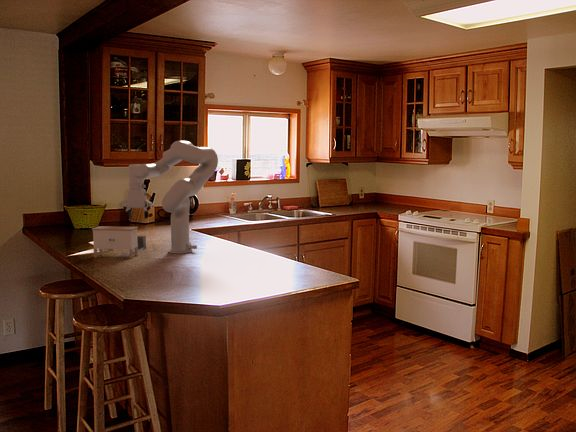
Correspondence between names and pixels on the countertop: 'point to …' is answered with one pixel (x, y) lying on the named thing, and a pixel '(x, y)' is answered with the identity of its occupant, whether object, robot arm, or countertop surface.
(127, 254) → the round metal knob
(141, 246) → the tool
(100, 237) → the cabinet
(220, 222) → the countertop surface
